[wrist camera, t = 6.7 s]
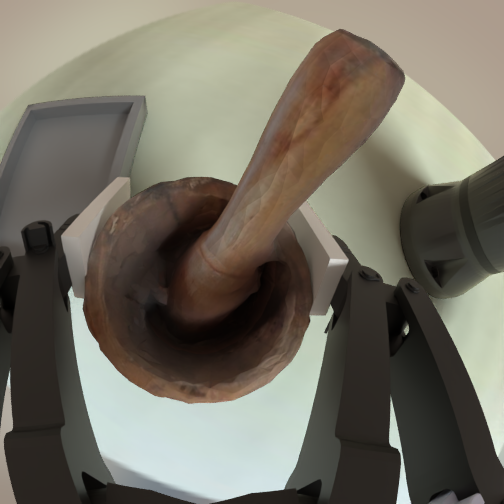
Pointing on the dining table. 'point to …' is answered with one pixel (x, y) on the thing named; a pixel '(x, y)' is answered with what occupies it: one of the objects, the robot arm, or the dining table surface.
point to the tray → (65, 160)
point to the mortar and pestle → (233, 241)
